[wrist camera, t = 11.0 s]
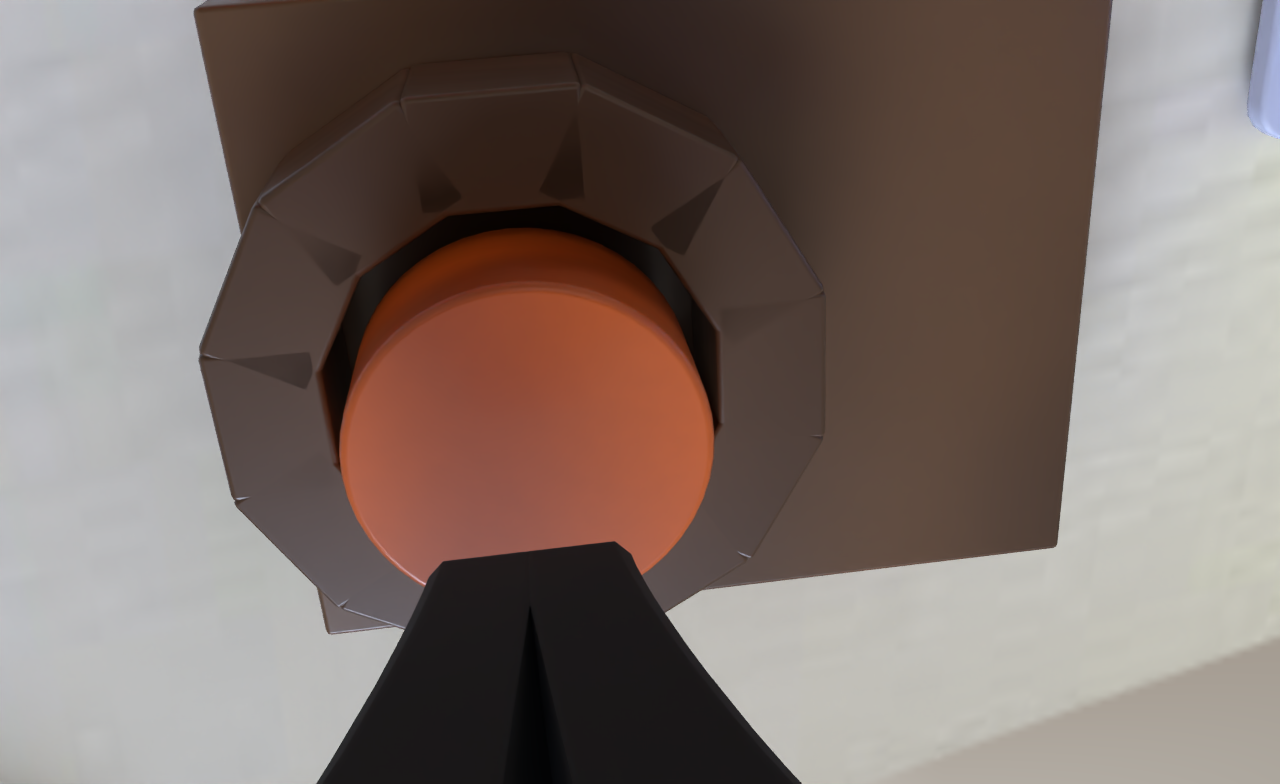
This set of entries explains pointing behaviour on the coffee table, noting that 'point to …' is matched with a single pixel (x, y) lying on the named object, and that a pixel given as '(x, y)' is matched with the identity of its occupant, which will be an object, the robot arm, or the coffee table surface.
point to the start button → (524, 407)
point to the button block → (681, 249)
